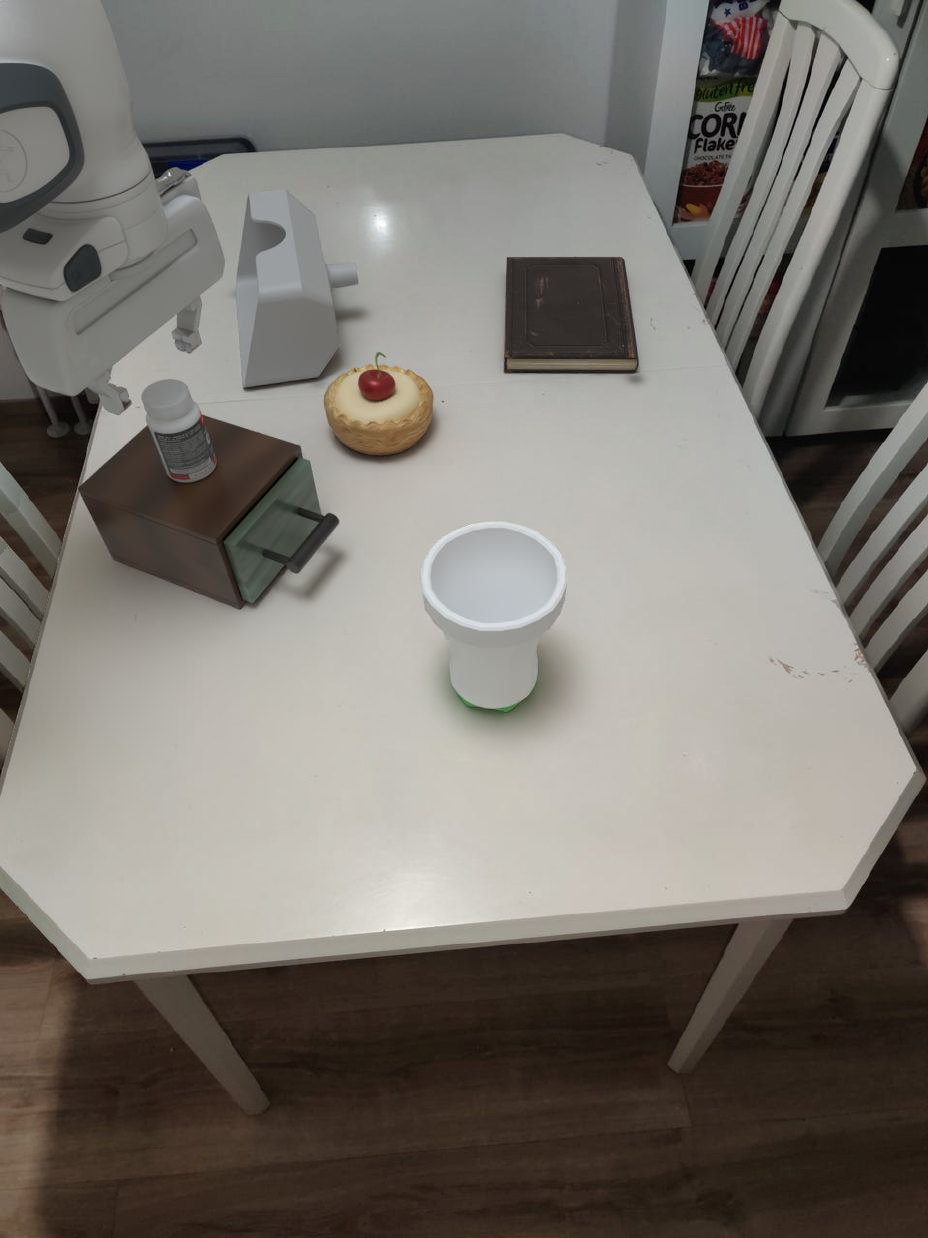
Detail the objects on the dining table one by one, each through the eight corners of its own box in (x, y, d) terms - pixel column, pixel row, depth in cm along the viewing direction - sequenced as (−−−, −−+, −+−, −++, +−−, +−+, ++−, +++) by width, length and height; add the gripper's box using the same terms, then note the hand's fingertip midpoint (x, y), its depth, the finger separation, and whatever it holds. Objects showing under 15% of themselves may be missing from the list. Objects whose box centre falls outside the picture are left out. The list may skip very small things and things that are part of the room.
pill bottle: (227, 465, 81) (204, 390, 74) (185, 491, 79) (158, 416, 72) (197, 443, 83) (172, 369, 77) (156, 468, 81) (126, 393, 74)
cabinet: (316, 517, 90) (300, 445, 82) (240, 609, 82) (215, 538, 75) (195, 476, 95) (169, 403, 87) (112, 559, 87) (76, 487, 80)
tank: (375, 374, 105) (363, 277, 96) (243, 393, 104) (217, 297, 94) (350, 269, 121) (338, 177, 111) (235, 284, 119) (212, 192, 109)
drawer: (358, 531, 87) (348, 472, 81) (291, 618, 80) (274, 561, 74) (207, 479, 93) (187, 420, 87) (132, 556, 86) (104, 498, 80)
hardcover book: (503, 372, 105) (504, 356, 103) (506, 272, 119) (506, 256, 117) (637, 373, 104) (639, 356, 102) (623, 272, 118) (625, 256, 117)
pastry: (322, 464, 95) (308, 397, 88) (337, 397, 103) (325, 331, 96) (431, 465, 95) (426, 397, 88) (438, 398, 102) (434, 331, 95)
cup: (529, 617, 81) (535, 505, 70) (577, 712, 74) (592, 605, 63) (414, 649, 79) (401, 540, 68) (452, 750, 72) (445, 647, 61)
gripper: (157, 150, 70) (199, 307, 80) (-38, 271, 58) (43, 436, 69) (221, 164, 68) (256, 323, 78) (34, 292, 56) (105, 458, 67)
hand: (155, 377), depth 73 cm, fingers open, 8 cm apart
